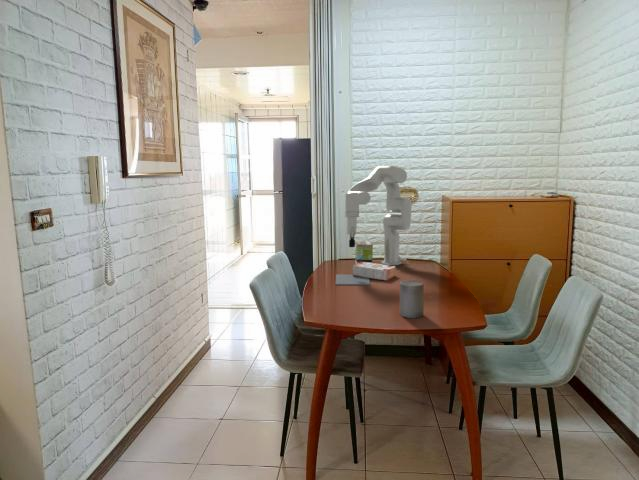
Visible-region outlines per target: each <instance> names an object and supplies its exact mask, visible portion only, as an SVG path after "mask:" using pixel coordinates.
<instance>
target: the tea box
mask: <svg viewBox="0 0 639 480" xmlns="http://www.w3.org/2000/svg"><path fill="white" fill-rule="evenodd" d="M373 249H374V245H373V243H372V241H371V240H369V241H368V240H366V241H365V240H357V241H356V240H355V258H354V260H355V262H354V263H355V264H358V263H361V262H368V263H373V257H374V255H373Z"/></svg>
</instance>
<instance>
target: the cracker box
mask: <svg viewBox="0 0 639 480" xmlns="http://www.w3.org/2000/svg"><path fill="white" fill-rule="evenodd" d="M396 266H397V265H384V264H382V263H381V264H380V263H375V262H374V263H373V262H372V263H368V262H361V263H358V264H356V263H355V264H353V265H352V270H351V274H352V275H355V276H361V277H367V278H369V279H373V280H382V281H388V280H390V279H392V278H394V277H395V276H396V269H397V268H396Z"/></svg>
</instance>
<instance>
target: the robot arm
mask: <svg viewBox="0 0 639 480" xmlns="http://www.w3.org/2000/svg"><path fill="white" fill-rule="evenodd" d="M407 178H408V174H407V171H406V169H404V168H401V167H398V166H395V165H378V166H376V167H375V168H374V169H373V170H372V171H371V173H370V174H369V175H368V176H367V177H366V178H364V179H362V180H361V181H359V182H357V183H355V184H354V185H353V186H351V187H350V189H348V190H347V192H346V193H345V215H344V216H345V217H344V218H346V219H347V220H346V235H347V236H349V240H348V247H349V248H356V240H355V239H356V238H355V236H356V235H357V225H358V224H357V223H358V222H357V221H358V218H359V217H360V206H364V205H368V204H369V203H370V202H371V195H370V193H369V192H373V191H376V190H377V189H379V187H380V186H381V184H384V187H385V188H386V189H385V190H386V200H385V201H386V203H385V204H386V205H385V206H386V207H385V208H386V210H387V212H390V214H386V215H384V217H383V218H382V225H383V230H384V231H383V234H384V241H383V242H384V243H383V250H384V251H383V260H381V264H382V265H389V266H399V265H402V262H407V257H400V239H401V238H400V234H399V231H408V230H409V229H410V228H411V224H412V223H411V221H412V201H411V199H409V198H408V197H401V187H400V185H399V184H403V183H405V182H406V181H407ZM392 213H398V214H392ZM399 213H400V214H399Z"/></svg>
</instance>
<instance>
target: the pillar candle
mask: <svg viewBox="0 0 639 480" xmlns="http://www.w3.org/2000/svg"><path fill="white" fill-rule="evenodd" d="M424 286H425V285H424V282H423V281H421V280H417V279H416V280H415V279H405V280H402V281H400V282H399V315H400V316H401V317H404V318H408V319H419V318H421V317H423V316H424V308H425V307H424V304H425V303H424V302H425V301H424V300H425V299H424V298H425V297H424V295H425V292H424V291H425V289H424Z"/></svg>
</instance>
